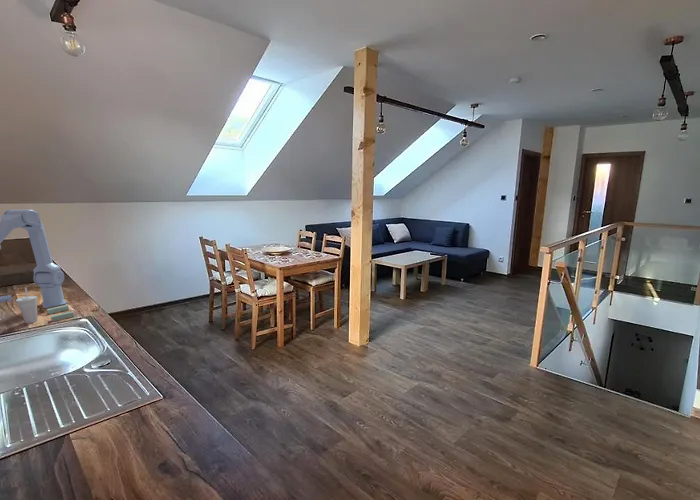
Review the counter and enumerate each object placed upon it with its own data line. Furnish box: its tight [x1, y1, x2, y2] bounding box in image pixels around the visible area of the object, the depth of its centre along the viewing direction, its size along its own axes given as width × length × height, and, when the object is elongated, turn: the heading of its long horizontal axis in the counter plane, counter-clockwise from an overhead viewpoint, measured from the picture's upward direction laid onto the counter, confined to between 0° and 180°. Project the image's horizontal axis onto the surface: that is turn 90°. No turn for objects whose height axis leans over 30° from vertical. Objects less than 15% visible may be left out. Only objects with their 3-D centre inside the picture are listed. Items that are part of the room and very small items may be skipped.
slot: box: [46, 304, 75, 322], centre depth 153 cm, size 13×7×2 cm, turn 45°
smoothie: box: [15, 287, 38, 324], centre depth 145 cm, size 6×6×14 cm
